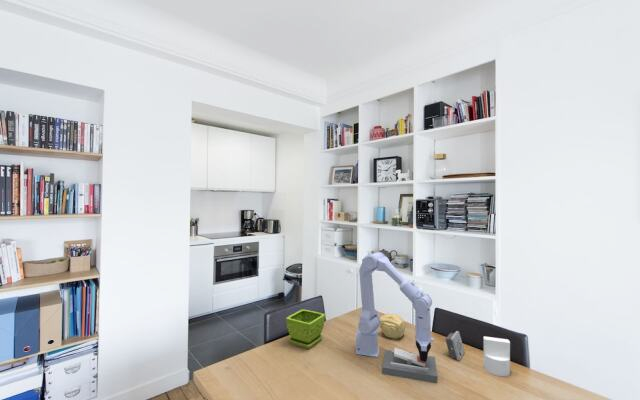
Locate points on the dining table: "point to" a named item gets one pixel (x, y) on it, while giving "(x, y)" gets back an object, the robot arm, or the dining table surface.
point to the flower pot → (305, 327)
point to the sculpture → (392, 325)
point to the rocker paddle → (408, 356)
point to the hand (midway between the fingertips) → (423, 360)
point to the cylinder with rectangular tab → (497, 356)
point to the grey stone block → (455, 345)
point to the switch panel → (409, 368)
